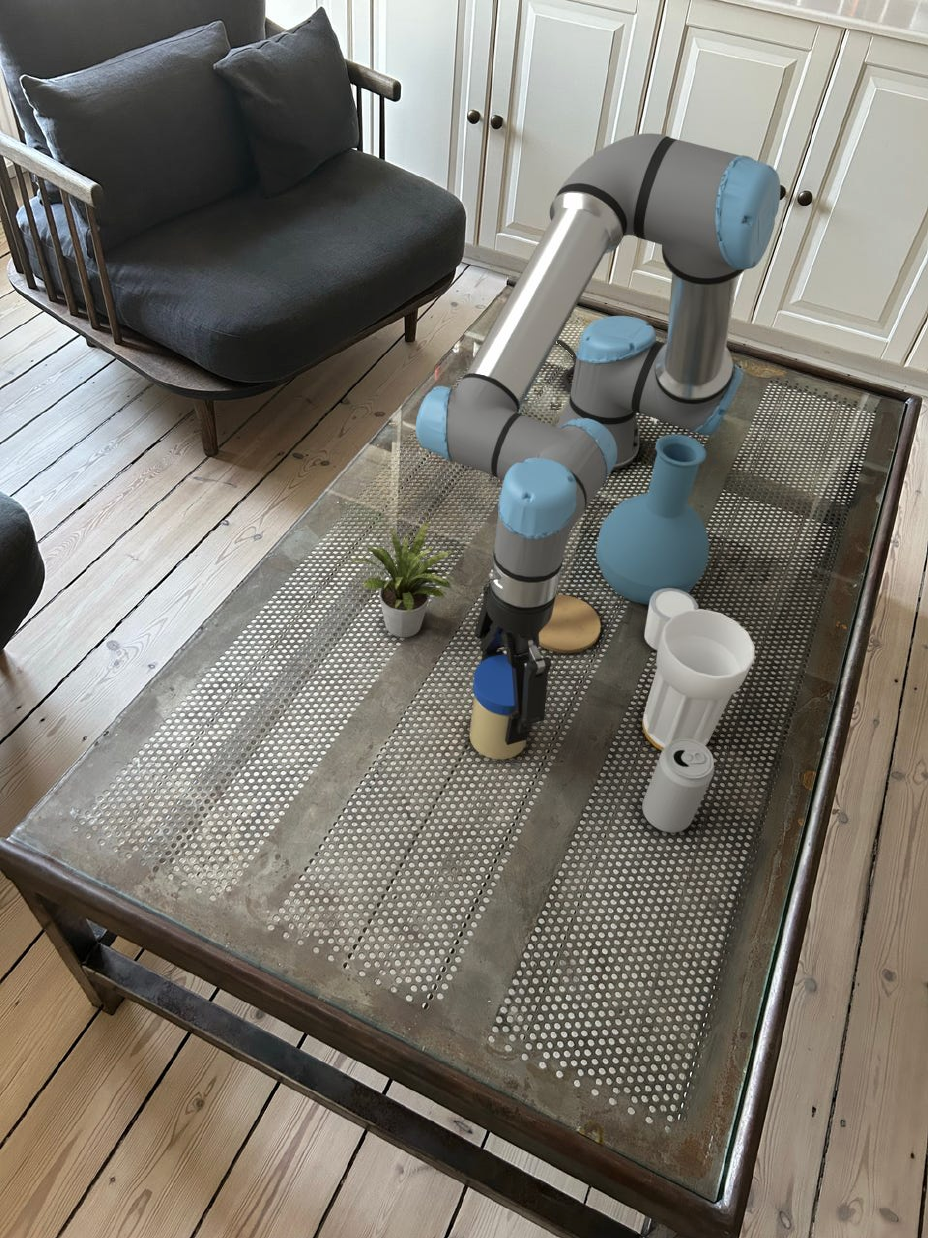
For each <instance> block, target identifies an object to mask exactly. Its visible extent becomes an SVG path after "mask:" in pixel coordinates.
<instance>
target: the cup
mask: <svg viewBox="0 0 928 1238" xmlns="http://www.w3.org/2000/svg"><path fill="white" fill-rule="evenodd" d="M755 649H756V646H755V644H754V642H753V640H752V638H751V636H750V634H749V632H748V631H747V630H746V629H745V628H744V627H743V626H742V625H741V624H739V623H738V622H737V620H735V619H733V618H731V617H728V616H727V615H725V614H723V613H721V612H718V611H713V610H708V609H704V608H701V609H698V610H686V611H684V612H681V613H679V614H677V615H675V616H673V617H672V618H671V619H670V620H669V621H668V622H667V624H666V625H665V626H664V628H663V631H662V635H661V639H660V642H659V646H658V649H657V650H656V660H655V663H656V670H655V673H654V676H653V680H652V683H651V687H650V691H649V694H648V698H647V702H646V704H645V708H644V712H643V715H642V720H641V721H642V722H641V726H642V727H641V728H642V731H643V733H644V736H645V738H646V739H647V740H648V741H649V742H650V743H651V744H652V745H653V746H654V747H655V748H656V749H658V750H659V751H661V752H662V751H663V749H664V748H665V747H666V746H668V745H669V744H670V743H671V742H672V741H674V740H676V739H680V738H689V739H693V740H696V741H698V742H700V743H702V744H703V745H705V746H706V747H707V745H708V744H709V742H710V740H711V738H712V736H713V734H714V731H715V730H716V727H717V725H718V724H719V721H720V720H721V717H722V716H723V713H724V711H725V709H726V707H727V705H728V703H729V702H730V699H731V698H732V695H733V694H736V693H737V692H738V690H739V688H740V687H741V686H742V685H743V683H744V682H745V680H746V678H747V675H748V673H749V672H750V670H751V667H752V666H753V664H754V662H755Z"/></svg>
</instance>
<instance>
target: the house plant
mask: <svg viewBox="0 0 928 1238" xmlns="http://www.w3.org/2000/svg"><path fill="white" fill-rule="evenodd" d="M429 523H430V520H428V521H426V523H424V524H423V525H422V526H421V527H420V529H419V530H418V532H417V533H416V535H415V537H414V539H413V541H412V543H411V545H410V546H409V549H408V543H409V536H410V535H409V534H410V532H408V533H407V534H406V537H405V539H404V542H403V546H402V543H401V541H400V539H399V537H398V535H397V533H396V531H394V530H393V528H391V527H389V529H390V534H391V536H392V539H391V540H392V544H393V547H394V551H395V561H396V564H395V561H394V560H393V558H392V556H391V554H390V553H389V552H388V550H387V549H385V548H382V547H381V546H378V545H374V547H371V546H365V549H366V550H368V551H369V552H371V553H372V554H373V556H374V557H375V558H376V559H377V560H378V561H380V562H381V563H382V564H383V566H384V568H385V569H386V571H385V570H384V569H383V568H382V567H380V566H379V565H378V564H377V563H375V562H373V561H372V560H371V559H368V558H354V559H350V560H347V561H346V562H347V563H351V562H364V563H370V564H372V565H375V566H376V567H377V568H379V569H380V570H381V571H382V572H384V573H385V574H386V575H387V576H388V577H389V579H388V580H382V579H380V578H377V577H369V578H367V579H366V580H365V582H364V583H363V585H362V588H363V590H365V589H367V590H379V591H378V598H379V602H380V606H381V612H382V617H383V620H384V626H385V628H386V630H387V631H388V633H390V634H391V635H393V636H395V637H398V638H409V637H412V636H414V635H416V634H417V633H419V631H420V630H421V628H422V624H423V621H424V618H425V614H426V611H427V607H428V604H429V601H430V598H431V596H432V597H439V598H442V599H443V600H447V599H446V598H445V595H447V592H446V591H445V590H443V589H442V588H440V587H438V586H433V585H426V584H436V585H439V586H441V587H444V588H447V589H449V590H451V592H453V589H452V586H451V583H450V582H449V581H448V580H447V579H446V578H442V577H440V576H438V575H436V574H442V575H444V576H446V577H448V578H449V579H451V580H453V581H454V582H457V583H459V581H458V580H457V579H455V578H453V577H452V576H451V575H450V574H448V573H447V572H445V571H442V570H439V569H433V568H432V569H431V568H430V567H432V566H434V565H435V564H436V563H437V562H439V560H441V559H442V558H444V557H447V556H449V555H451V554H453V553H454V551H453V550H452V551H451V550H450V551H449V550H448V551H447V550H446V551H442V552H439V553H436V554H435V553H434V552H433V553H431V554H428V553H429V552H430V551H431V550H432V548H434V545H432V546H430V547H428V548H425V549H424V550H423V547H424V545H425V543H426V533H427V531H428V528H429ZM376 548H377V549H378V550H377V549H376ZM422 550H423V551H422ZM434 554H435V555H434ZM432 555H433V556H432ZM428 556H431V557H430V558H428V559H426V560H425V561H424V562H423V558H424V557H428ZM387 572H388V573H387Z"/></svg>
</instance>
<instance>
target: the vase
mask: <svg viewBox="0 0 928 1238" xmlns="http://www.w3.org/2000/svg"><path fill="white" fill-rule="evenodd" d="M654 448H655V449H654V450H655V451H656V452H657V454H656V458H655V461H654V464H653V469H652V473H651V477H650V481H649V486H648V492H644V493H641V494H637V495H635V496H632V497H629V498H626V499H625V500H623V501H621V502H619V503H618V504H617V505H616V506H615V507H614V508H613V510H611V512H609V514H608V515H607V516H606V518H604V520H603V521H602V523H601V526H600V529H599V533H598V537H597V542H596V547H595V558H596V561H597V564H598V566H599V569H600V572H601V575H602V576H603V578H604V580H605V582H606V583H607V584H608V585H609V587H611V589H612V590H613V591H614V592H615V593H616V594H617V595H618V596H621V597H623V598H624V599H626V600H628V601H630V602H633V603H638V604H643V605H646V606H649V603H650V598H651V596H652V595H653V593H654V592H656V591H658V590H660V589H664V588H674V589H680V590H682V591H684V592H686V593H688V594H689V593H690V592H691V590H693V588H695V586H696V585H697V584H698V582H699V581H700V579H701V578H702V577H703V575H704V573H705V571H706V569H707V566H708V560H709V553H710V551H709V550H710V540H709V535H708V532H707V530H706V528H705V525H704V523H703V520H702V519H701V517H700V514H699V513H698V512H696V510H695V509H693V507H692V506H690V505H689V504H688V499H689V498H690V494H691V492H692V489H693V486H694V483H695V479H696V476H697V475H698V474H697V473H698V470H699V465H701V464H702V463H703V461H704V460H705V459H706V457H707V450H706V449H705V447H704V445H703V444H702V443H701V442H700V441H699V440H698V439H696V438H693V437H690V436H689V435H683V434H680V433H673V434H666V435H664V436H661V437H659V438H658V440H656V442H655V447H654Z"/></svg>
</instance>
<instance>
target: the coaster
mask: <svg viewBox="0 0 928 1238" xmlns="http://www.w3.org/2000/svg"><path fill="white" fill-rule="evenodd" d="M601 625H602V624H601V619H600V617H599V615H598V613H597V611H596V610H595V608H593V607H592V606H591V605H589V604H588V603H587V602H585V601H584V600H583V599H580V598H577V597H575V596H571V595H567V594H556V597H555V602H554V607H553V612H552V616H551V619H550V621H549V622H548V623H547V625H546V626H545V627H544V628H543V629H542V630H541V631H540V632H539V647H542V648H544V649H546V650H548V651H550V652H554V653H558V654H575V653H580V652H583V651H586V650H587V649H590V648H591V647H592V646H593V645H595V643H596V642H597V640H598V639H599V637H600V633H601V629H602V628H601V627H602V626H601Z"/></svg>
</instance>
